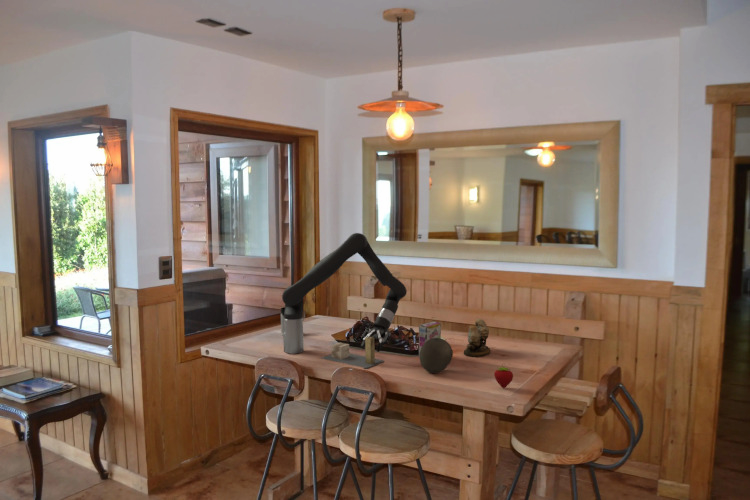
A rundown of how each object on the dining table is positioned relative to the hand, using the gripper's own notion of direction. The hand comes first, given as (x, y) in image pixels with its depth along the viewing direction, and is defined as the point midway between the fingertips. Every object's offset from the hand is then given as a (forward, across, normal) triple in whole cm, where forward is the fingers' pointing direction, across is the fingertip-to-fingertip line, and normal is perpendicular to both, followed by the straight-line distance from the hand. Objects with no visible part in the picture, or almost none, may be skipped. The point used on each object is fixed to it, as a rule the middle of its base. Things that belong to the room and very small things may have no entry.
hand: (369, 349), depth 260 cm
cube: (+4, -18, +5) cm, 19 cm away
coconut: (0, +31, +10) cm, 33 cm away
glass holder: (-11, -72, +21) cm, 76 cm away
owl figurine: (-27, +32, +37) cm, 56 cm away
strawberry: (+2, +64, +8) cm, 65 cm away
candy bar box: (-13, +17, +23) cm, 31 cm away
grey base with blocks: (+5, -11, +5) cm, 13 cm away
